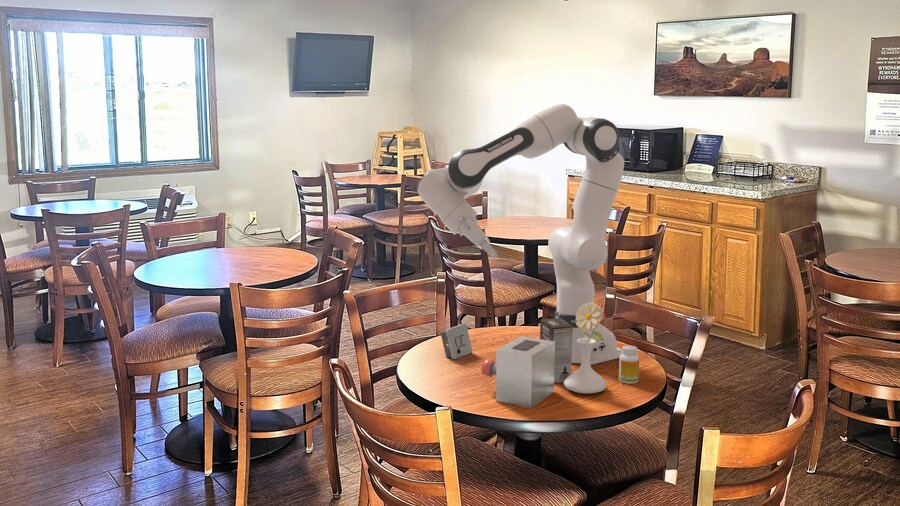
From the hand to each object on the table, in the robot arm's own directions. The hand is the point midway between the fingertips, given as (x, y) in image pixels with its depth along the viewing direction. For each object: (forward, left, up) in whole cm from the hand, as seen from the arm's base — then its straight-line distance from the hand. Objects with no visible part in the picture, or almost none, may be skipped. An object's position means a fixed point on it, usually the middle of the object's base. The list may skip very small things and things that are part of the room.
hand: (495, 256), depth 230 cm
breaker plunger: (+4, +13, -31) cm, 33 cm away
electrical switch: (+2, -22, -35) cm, 41 cm away
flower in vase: (-17, +21, -35) cm, 44 cm away
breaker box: (0, +18, -34) cm, 39 cm away
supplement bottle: (-32, +19, -35) cm, 51 cm away
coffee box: (-15, +8, -35) cm, 39 cm away
